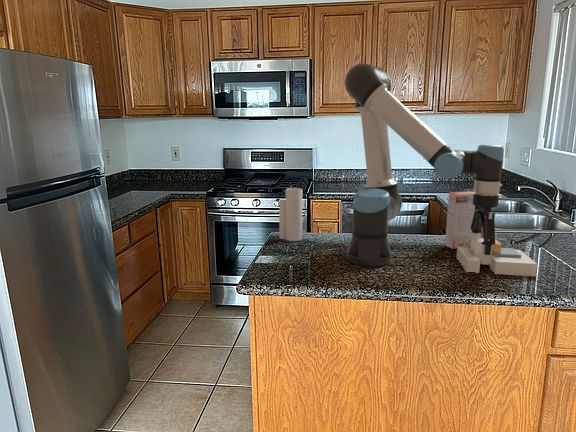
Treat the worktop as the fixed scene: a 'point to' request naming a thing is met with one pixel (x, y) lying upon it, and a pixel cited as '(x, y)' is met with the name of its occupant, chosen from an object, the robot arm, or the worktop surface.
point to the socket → (498, 263)
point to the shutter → (504, 251)
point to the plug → (477, 247)
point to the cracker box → (460, 220)
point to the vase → (291, 215)
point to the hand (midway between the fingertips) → (479, 257)
